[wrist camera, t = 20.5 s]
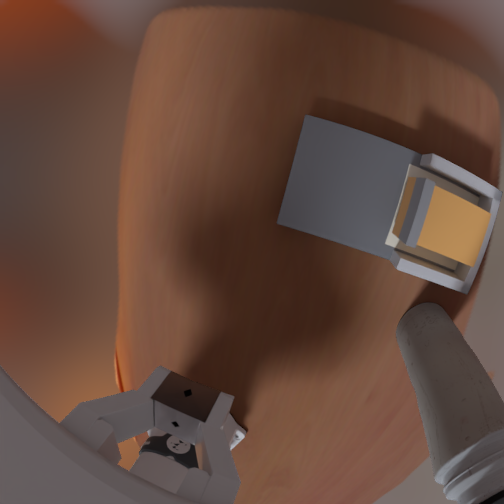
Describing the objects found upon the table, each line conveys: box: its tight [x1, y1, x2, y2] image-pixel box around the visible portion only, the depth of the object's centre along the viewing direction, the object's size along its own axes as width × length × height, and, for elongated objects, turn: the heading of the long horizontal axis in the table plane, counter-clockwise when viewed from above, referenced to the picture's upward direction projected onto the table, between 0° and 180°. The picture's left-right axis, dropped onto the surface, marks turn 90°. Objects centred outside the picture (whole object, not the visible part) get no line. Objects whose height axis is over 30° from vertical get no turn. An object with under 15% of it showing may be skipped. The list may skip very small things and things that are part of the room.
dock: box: [277, 114, 502, 294], centre depth 26 cm, size 12×23×6 cm, turn 76°
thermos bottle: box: [396, 303, 504, 504], centre depth 18 cm, size 8×8×28 cm
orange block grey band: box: [392, 177, 491, 267], centre depth 22 cm, size 6×10×6 cm, turn 76°
